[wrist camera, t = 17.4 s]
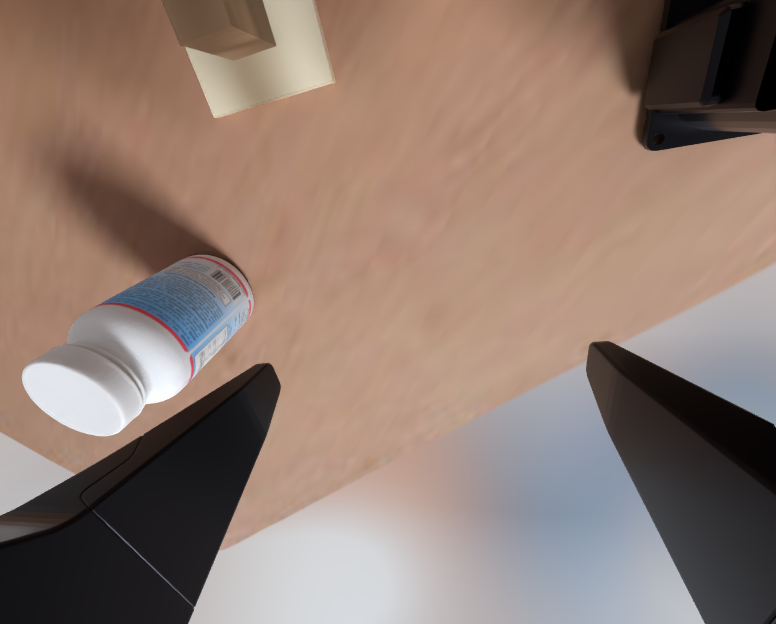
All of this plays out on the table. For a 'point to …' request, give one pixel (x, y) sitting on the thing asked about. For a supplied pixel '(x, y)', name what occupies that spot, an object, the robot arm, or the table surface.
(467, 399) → the table surface
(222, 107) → the lid
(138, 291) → the pill bottle
